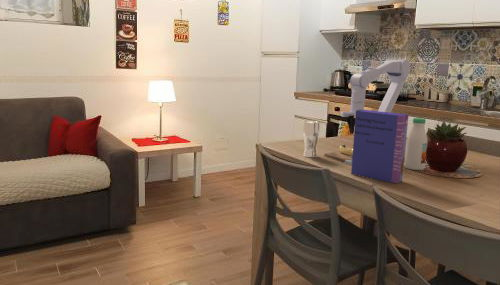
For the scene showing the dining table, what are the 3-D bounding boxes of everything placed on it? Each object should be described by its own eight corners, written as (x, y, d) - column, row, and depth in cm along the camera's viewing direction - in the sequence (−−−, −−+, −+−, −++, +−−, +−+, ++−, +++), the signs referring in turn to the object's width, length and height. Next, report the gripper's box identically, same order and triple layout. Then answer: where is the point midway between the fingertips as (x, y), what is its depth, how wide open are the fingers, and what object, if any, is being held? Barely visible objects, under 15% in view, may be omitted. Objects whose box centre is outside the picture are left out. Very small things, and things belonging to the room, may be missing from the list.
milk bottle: (414, 171, 172) (420, 120, 168) (399, 166, 179) (404, 117, 175) (428, 169, 176) (434, 119, 172) (413, 165, 183) (418, 116, 179)
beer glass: (317, 158, 189) (320, 123, 187) (301, 157, 191) (303, 122, 188) (318, 154, 196) (320, 121, 193) (302, 153, 197) (304, 120, 195)
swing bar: (361, 156, 188) (362, 148, 187) (355, 157, 186) (355, 149, 185) (343, 151, 198) (343, 143, 197) (336, 151, 196) (337, 144, 196)
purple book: (401, 181, 158) (408, 114, 153) (396, 183, 154) (403, 115, 150) (357, 172, 169) (362, 109, 164) (351, 174, 165) (356, 109, 161)
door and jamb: (356, 152, 203) (356, 143, 202) (399, 165, 180) (400, 155, 180) (324, 155, 194) (324, 146, 194) (365, 170, 172) (366, 159, 171)
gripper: (347, 102, 184) (345, 135, 187) (377, 103, 189) (374, 134, 191) (339, 101, 191) (336, 132, 193) (368, 101, 195) (365, 132, 198)
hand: (354, 133), depth 193 cm, fingers open, 3 cm apart
